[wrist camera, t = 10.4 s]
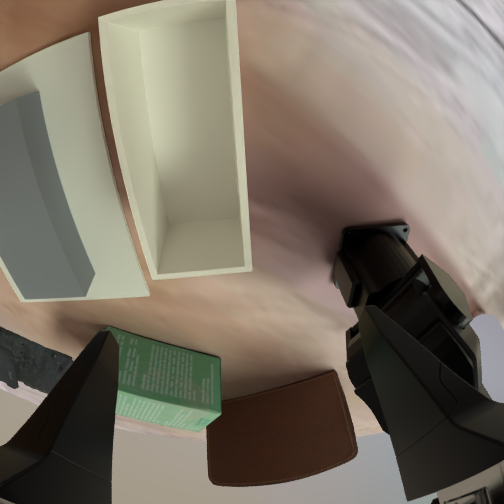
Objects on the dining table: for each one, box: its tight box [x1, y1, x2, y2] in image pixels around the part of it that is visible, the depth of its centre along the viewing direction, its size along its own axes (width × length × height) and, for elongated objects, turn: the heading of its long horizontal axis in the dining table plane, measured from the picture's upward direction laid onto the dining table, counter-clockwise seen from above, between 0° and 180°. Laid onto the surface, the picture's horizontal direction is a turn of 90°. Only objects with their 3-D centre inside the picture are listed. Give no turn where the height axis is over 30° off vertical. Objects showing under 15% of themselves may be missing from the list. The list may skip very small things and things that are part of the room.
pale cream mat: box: [0, 32, 150, 302], centre depth 19 cm, size 16×22×1 cm
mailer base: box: [98, 0, 252, 280], centre depth 15 cm, size 6×15×6 cm, turn 3°
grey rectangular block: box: [0, 91, 96, 299], centre depth 17 cm, size 7×16×3 cm, turn 3°
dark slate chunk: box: [0, 327, 74, 394], centre depth 30 cm, size 15×22×5 cm
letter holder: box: [206, 370, 358, 487], centre depth 36 cm, size 10×20×14 cm, turn 112°
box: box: [106, 326, 222, 432], centre depth 29 cm, size 7×14×8 cm, turn 63°
